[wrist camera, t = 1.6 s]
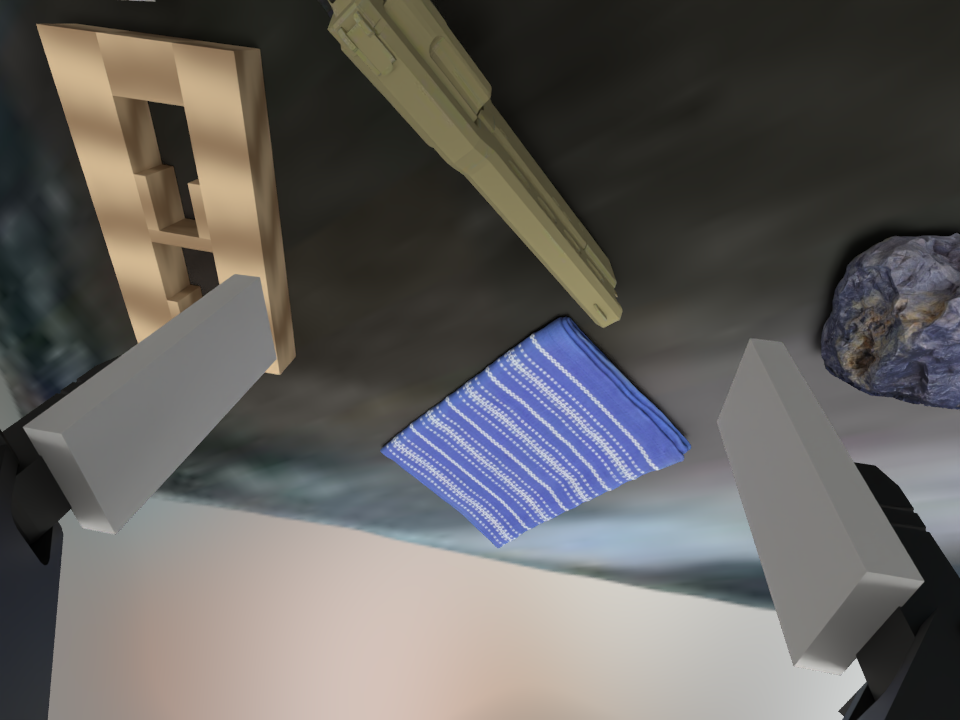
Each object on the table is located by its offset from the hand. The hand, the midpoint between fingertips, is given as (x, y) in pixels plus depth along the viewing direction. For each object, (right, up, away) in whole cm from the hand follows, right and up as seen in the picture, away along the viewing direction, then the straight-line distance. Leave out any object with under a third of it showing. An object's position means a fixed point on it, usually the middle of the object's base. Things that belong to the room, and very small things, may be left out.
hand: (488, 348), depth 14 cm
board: (-22, +11, +26) cm, 36 cm away
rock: (+29, +4, +21) cm, 36 cm away
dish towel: (+4, -8, +34) cm, 35 cm away
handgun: (0, +17, +18) cm, 25 cm away
